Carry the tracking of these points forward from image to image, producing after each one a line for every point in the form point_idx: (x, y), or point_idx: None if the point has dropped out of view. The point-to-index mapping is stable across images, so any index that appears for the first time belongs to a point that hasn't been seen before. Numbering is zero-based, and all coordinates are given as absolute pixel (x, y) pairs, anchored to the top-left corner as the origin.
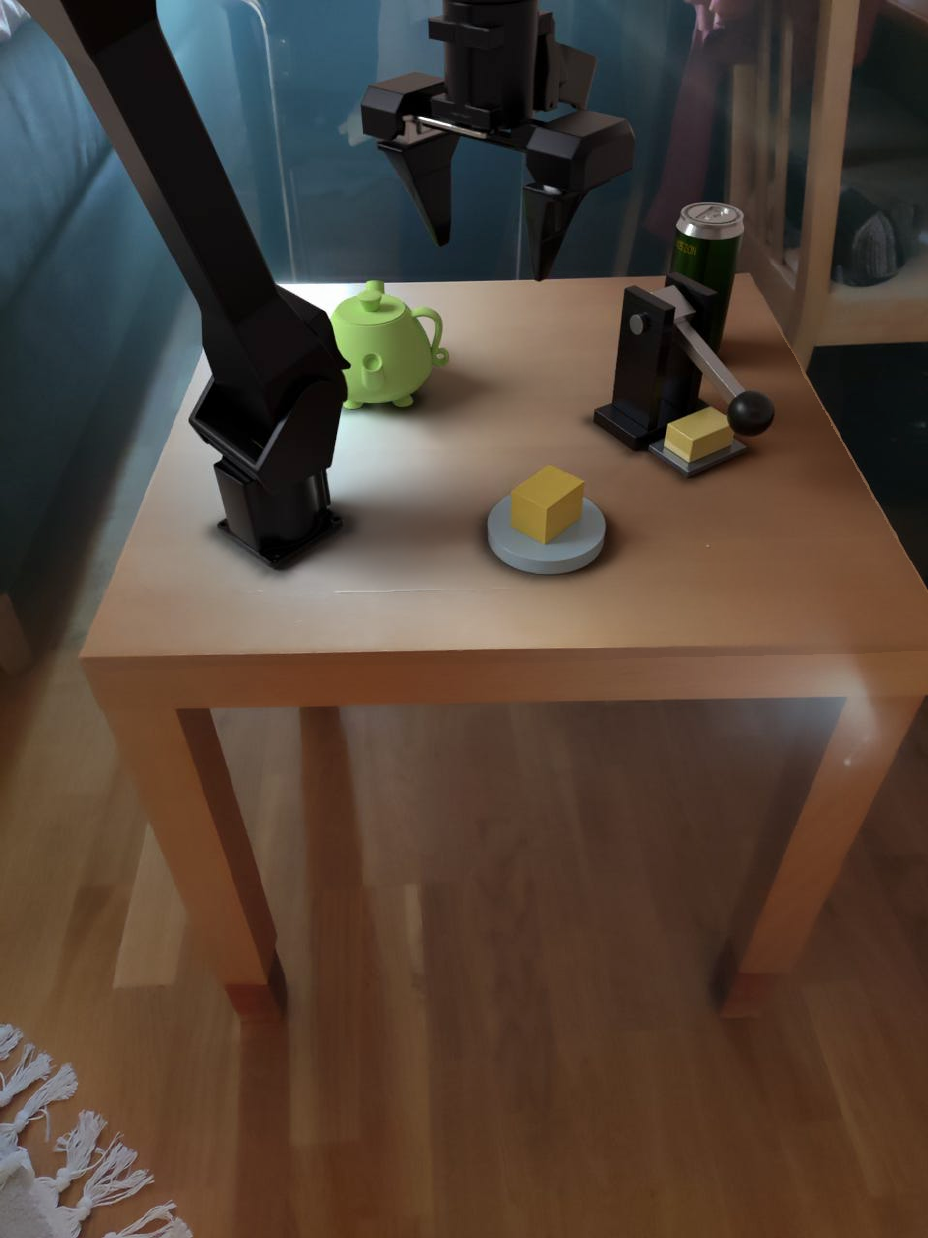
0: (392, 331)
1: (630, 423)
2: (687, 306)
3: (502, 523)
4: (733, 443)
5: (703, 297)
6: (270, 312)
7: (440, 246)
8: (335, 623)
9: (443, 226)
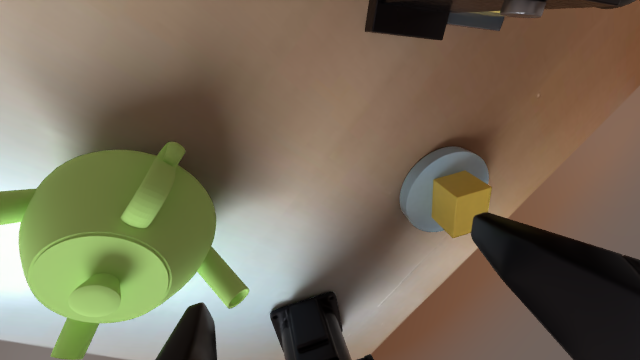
0: (181, 264)
1: (423, 19)
2: None
3: (424, 220)
4: None
5: None
6: None
7: (212, 320)
8: (396, 311)
9: (207, 357)
